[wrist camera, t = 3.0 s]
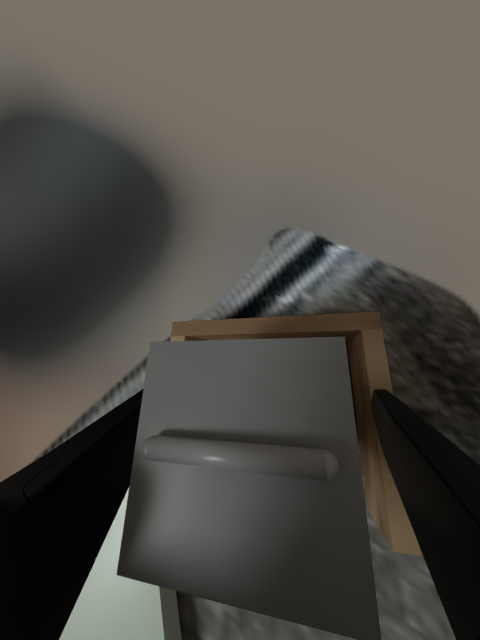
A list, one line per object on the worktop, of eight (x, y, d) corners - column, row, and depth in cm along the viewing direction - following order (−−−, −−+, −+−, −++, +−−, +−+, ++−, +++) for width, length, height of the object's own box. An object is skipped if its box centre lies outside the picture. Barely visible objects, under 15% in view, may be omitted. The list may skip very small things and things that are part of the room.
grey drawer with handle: (322, 468, 13) (395, 685, 4) (228, 458, 15) (96, 596, 5) (314, 368, 15) (350, 331, 5) (231, 368, 17) (138, 338, 7)
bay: (387, 511, 12) (421, 556, 9) (181, 482, 15) (150, 508, 12) (361, 327, 15) (379, 311, 12) (194, 333, 18) (172, 321, 15)
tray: (194, 749, 11) (180, 799, 10) (4, 760, 13) (-31, 805, 12) (161, 472, 16) (148, 480, 14) (22, 508, 17) (-2, 519, 16)
